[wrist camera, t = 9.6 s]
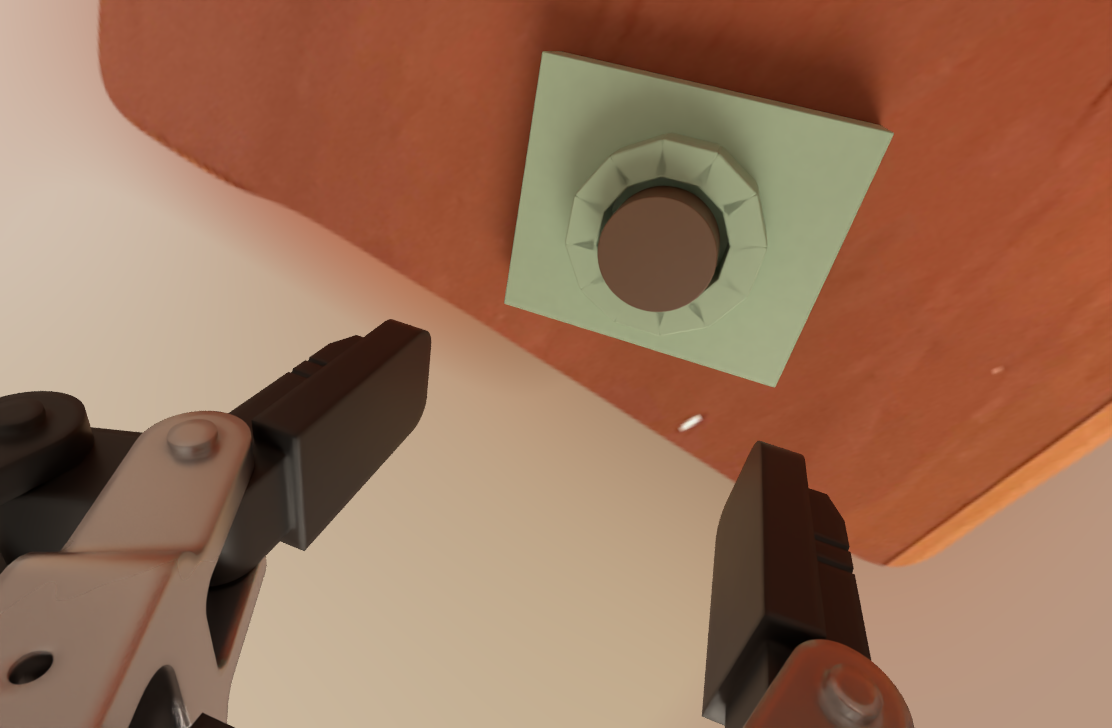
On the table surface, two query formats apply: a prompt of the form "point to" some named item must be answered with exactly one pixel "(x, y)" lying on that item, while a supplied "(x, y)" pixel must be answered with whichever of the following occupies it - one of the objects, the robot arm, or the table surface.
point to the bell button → (659, 249)
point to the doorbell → (709, 173)
